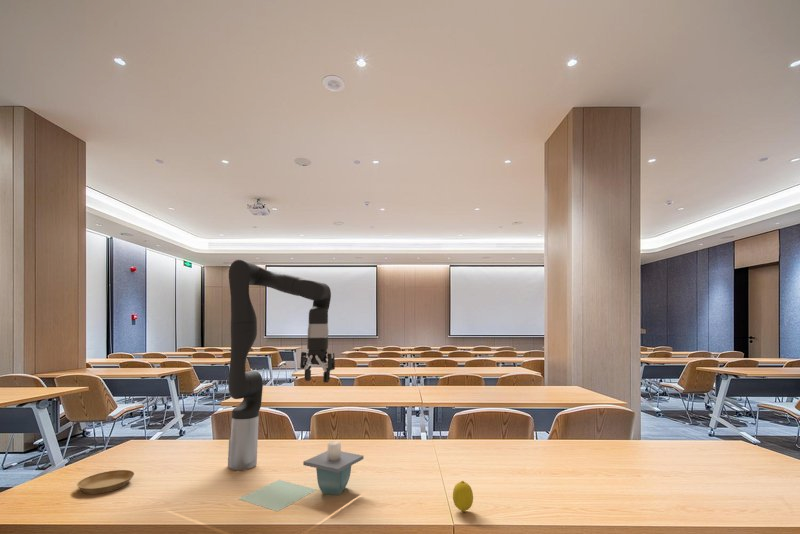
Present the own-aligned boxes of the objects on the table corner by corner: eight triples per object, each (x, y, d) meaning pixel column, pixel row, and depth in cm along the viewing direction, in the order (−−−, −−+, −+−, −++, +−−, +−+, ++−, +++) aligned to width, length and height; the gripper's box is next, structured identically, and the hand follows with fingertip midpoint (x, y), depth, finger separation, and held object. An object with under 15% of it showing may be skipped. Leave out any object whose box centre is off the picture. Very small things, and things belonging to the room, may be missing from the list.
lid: (303, 465, 120) (303, 446, 120) (330, 452, 131) (331, 435, 132) (337, 472, 113) (338, 452, 114) (363, 458, 125) (363, 440, 125)
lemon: (451, 507, 111) (450, 477, 112) (470, 506, 111) (469, 476, 113) (455, 517, 106) (454, 485, 107) (475, 516, 106) (475, 484, 107)
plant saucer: (115, 496, 120) (116, 487, 120) (63, 498, 119) (64, 488, 119) (143, 477, 134) (143, 469, 135) (97, 478, 133) (98, 470, 134)
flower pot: (342, 500, 116) (343, 467, 117) (314, 497, 118) (315, 465, 119) (352, 487, 125) (352, 457, 126) (325, 485, 126) (326, 455, 128)
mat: (237, 501, 116) (237, 498, 116) (279, 481, 130) (279, 479, 130) (277, 513, 108) (277, 511, 108) (316, 491, 122) (316, 489, 122)
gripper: (296, 336, 147) (294, 381, 144) (326, 337, 140) (325, 384, 138) (310, 335, 153) (309, 378, 151) (339, 336, 146) (338, 381, 144)
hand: (316, 381), depth 144 cm, fingers open, 8 cm apart
